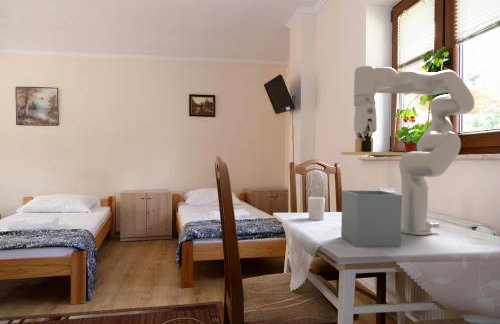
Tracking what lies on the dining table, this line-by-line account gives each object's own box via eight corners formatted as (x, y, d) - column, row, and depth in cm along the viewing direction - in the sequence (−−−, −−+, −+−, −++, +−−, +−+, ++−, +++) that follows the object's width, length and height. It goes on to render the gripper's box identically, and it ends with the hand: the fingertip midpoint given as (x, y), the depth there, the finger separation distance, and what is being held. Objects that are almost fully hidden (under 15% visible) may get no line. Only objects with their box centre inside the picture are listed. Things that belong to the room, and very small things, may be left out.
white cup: (304, 218, 178) (305, 196, 178) (319, 217, 180) (320, 196, 180) (312, 221, 170) (312, 198, 170) (327, 220, 173) (328, 198, 172)
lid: (382, 155, 140) (382, 138, 140) (404, 155, 124) (404, 137, 124) (340, 154, 138) (340, 138, 138) (357, 154, 122) (357, 136, 122)
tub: (381, 236, 139) (381, 190, 139) (400, 246, 124) (401, 195, 124) (341, 236, 138) (342, 190, 137) (356, 247, 123) (357, 194, 123)
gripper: (385, 98, 129) (383, 152, 129) (365, 104, 145) (364, 152, 146) (363, 97, 128) (362, 152, 128) (346, 104, 144) (345, 152, 145)
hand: (363, 151), depth 137 cm, fingers closed on lid, 4 cm apart
